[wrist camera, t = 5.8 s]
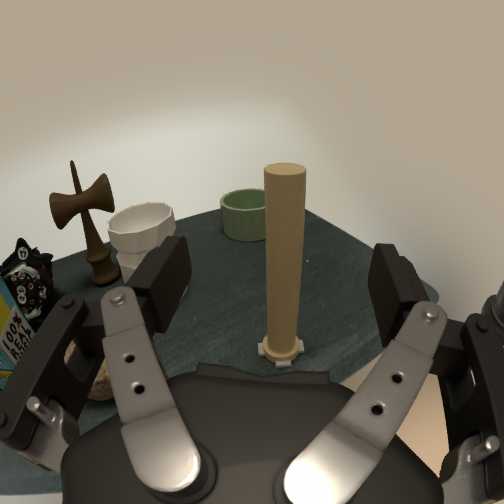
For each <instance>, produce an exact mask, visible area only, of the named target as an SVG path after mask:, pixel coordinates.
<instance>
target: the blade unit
mask: <svg viewBox="0 0 504 504" xmlns="http://www.w3.org/2000/svg"><path fill="white" fill-rule="evenodd" d="M264 187H265V227H266V277H267V335H266V336H265V338H264V340H263V343H258V353H259V357H262V356H265V357H266V358H267V359H268V360H269V361H271V362H273V363H275V365H276V368H283V367H291V361H292V360H294V359H295V358H296V357H297V355H298V353H304V346H303V341H302V340H299V339H298V337H297V336H296V329H297V319H298V307H299V296H300V283H301V269H302V254H303V237H304V217H305V193H306V192H305V191H306V168H305V167H303V166H301V165H298V164H293V163H276V164H271V165H268V166H266V167H265V168H264Z"/></svg>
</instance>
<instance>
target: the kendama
mask: <svg viewBox="0 0 504 504" xmlns="http://www.w3.org/2000/svg"><path fill="white" fill-rule="evenodd" d="M70 166H71V172H72V177H73V182H74V187H75V191H76V194H73V195H65V194H60V193H51V194H50V198H49V202H50V209H51V213H52V217H53V219H54V222H55V224H56V226H57V228H58V229H60V230H61V229H63V228H64V227H65V226H66V225H67V223H68V222H69V221H70V220H71V219H72V218H73V217H74V216H75V215H76V214H78V213H81V218H82V222H83V227H84V232H85V238H86V243H87V254H86V256H85V259H86V261H87V262H89V263H90V264H91V265H92V268H93V273H92V281H93V283H95V284H97V285H104V284H108V283H110V282H112V281H114V280H115V279H116V278H117V277H118V275H119V273H120V270H119V267H118V266H117V265H115V264H113V262H112V260H111V258H110V254H111V248H110V247H109V246H106V245H105V244H104V243H103V242H102V240H101V238H100V236H99V234H98V232H97V230H96V228H95V226H94V223H93V221H92V219H91V216H90V214H89V211H88V209H100V210H103V211H107V212H111V213H113V212H114V210H115V206H114V199H113V195H112V191H111V187H110V183H109V180H108V177H107V175H106V174H105V173H103V174H102V175H101V176H100V177H99V178H98V179H97V180H96V181H95V182H94V184H93V185H92V186H91V187H90V188H89V189H87V190H85V191H83V192H82V189H81V186H80V182H79V179H78V176H77V171H76V168H75V164H74V162H73V161H72V160H71V161H70Z"/></svg>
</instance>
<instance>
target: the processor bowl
mask: <svg viewBox="0 0 504 504" xmlns="http://www.w3.org/2000/svg"><path fill="white" fill-rule="evenodd" d="M220 206H221V216H222V226H223V232H224V234H225V235H226V236H227V237H229V238H231V239H234V240H237V241H244V242H252V241H259V240H263V239H266V227H265V190H262V189H242V190H236V191H233V192H229V193H227V194H225V195H224V196H223V197H222V198H221V200H220Z"/></svg>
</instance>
